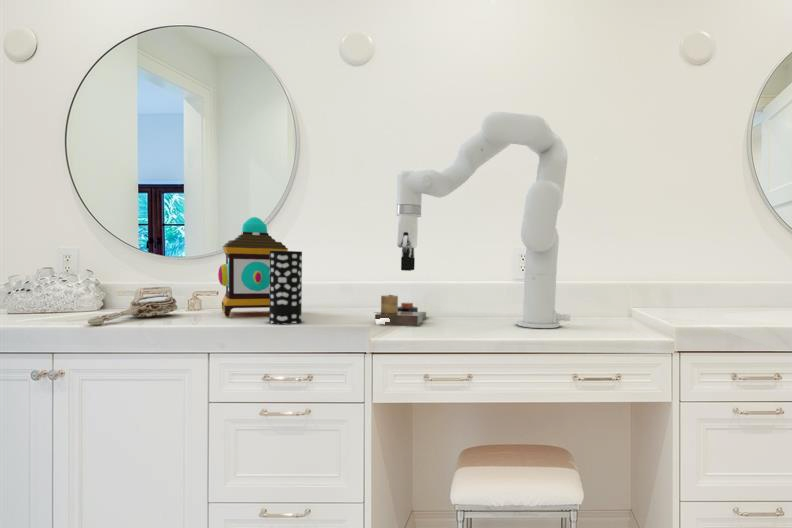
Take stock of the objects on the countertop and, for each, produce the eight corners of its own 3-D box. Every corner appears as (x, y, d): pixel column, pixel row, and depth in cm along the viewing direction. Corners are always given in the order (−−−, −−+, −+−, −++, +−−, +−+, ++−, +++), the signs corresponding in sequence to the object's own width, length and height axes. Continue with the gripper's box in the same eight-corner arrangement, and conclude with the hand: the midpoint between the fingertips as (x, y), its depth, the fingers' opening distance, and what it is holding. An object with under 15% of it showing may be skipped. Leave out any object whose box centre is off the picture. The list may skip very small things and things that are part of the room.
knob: (378, 312, 161) (379, 294, 160) (394, 311, 163) (395, 293, 163) (383, 313, 157) (384, 295, 156) (399, 313, 159) (400, 295, 159)
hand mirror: (65, 315, 135) (150, 294, 165) (72, 337, 136) (155, 313, 166) (105, 307, 134) (183, 288, 164) (112, 330, 135) (188, 307, 165)
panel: (422, 322, 165) (422, 311, 165) (417, 326, 155) (417, 315, 155) (377, 320, 165) (377, 310, 165) (369, 324, 155) (369, 313, 155)
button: (413, 308, 175) (413, 302, 175) (411, 309, 171) (411, 303, 171) (402, 307, 175) (402, 302, 175) (400, 308, 171) (400, 303, 171)
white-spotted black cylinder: (290, 319, 160) (290, 251, 159) (307, 322, 155) (308, 251, 154) (263, 322, 153) (263, 250, 152) (280, 325, 149) (280, 251, 147)
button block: (426, 317, 178) (426, 306, 178) (422, 320, 169) (422, 309, 169) (392, 316, 178) (392, 305, 177) (386, 319, 169) (386, 308, 168)
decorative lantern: (219, 318, 157) (219, 213, 155) (216, 311, 174) (216, 216, 172) (294, 316, 167) (294, 217, 165) (284, 309, 184) (284, 220, 182)
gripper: (401, 213, 179) (400, 269, 180) (391, 209, 162) (390, 270, 164) (424, 214, 179) (423, 269, 181) (417, 209, 162) (415, 271, 164)
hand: (407, 269), depth 172 cm, fingers open, 4 cm apart
